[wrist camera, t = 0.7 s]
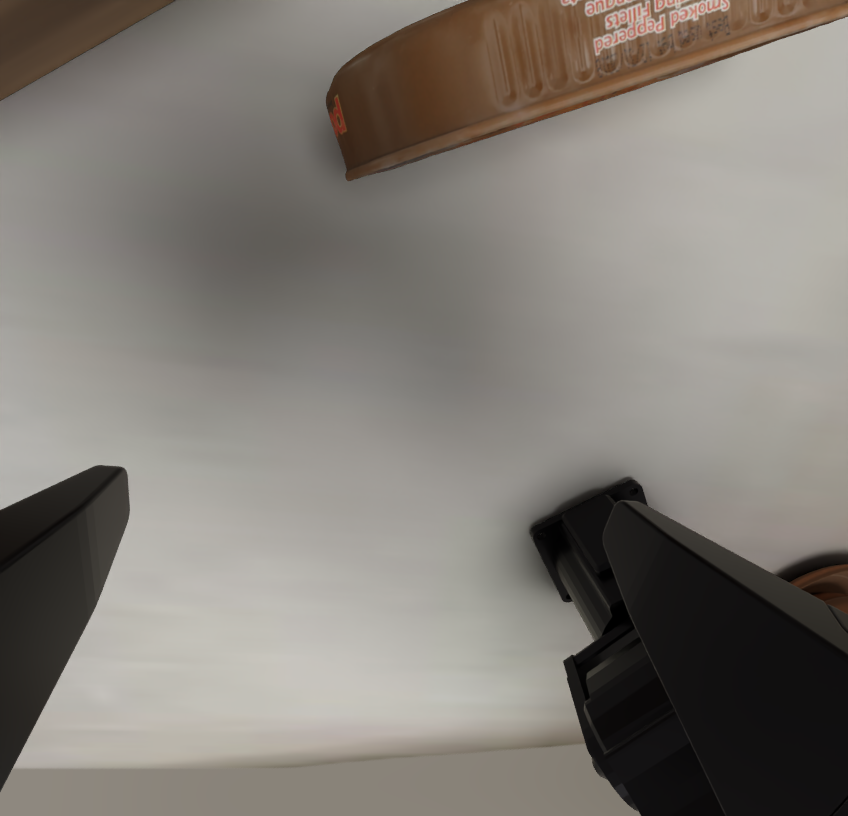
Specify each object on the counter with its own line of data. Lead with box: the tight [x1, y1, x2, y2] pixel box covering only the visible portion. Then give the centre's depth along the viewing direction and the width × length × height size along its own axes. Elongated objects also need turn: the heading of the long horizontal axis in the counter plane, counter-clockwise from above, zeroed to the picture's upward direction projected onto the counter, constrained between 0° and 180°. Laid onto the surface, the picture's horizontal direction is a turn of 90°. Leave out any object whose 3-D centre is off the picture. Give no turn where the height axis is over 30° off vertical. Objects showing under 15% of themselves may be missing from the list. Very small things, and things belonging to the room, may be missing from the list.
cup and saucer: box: [789, 564, 848, 614], centre depth 34 cm, size 12×12×6 cm
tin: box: [326, 0, 848, 181], centre depth 15 cm, size 15×3×8 cm, turn 106°
